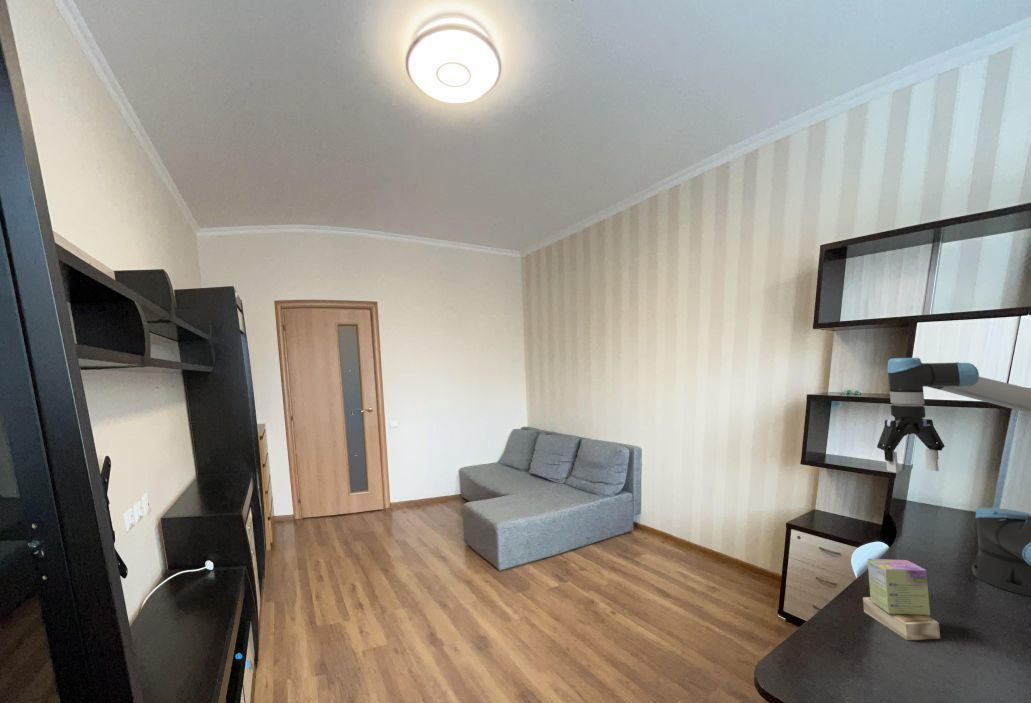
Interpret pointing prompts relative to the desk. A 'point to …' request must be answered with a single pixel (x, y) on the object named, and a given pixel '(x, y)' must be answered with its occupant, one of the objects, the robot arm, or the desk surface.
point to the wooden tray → (904, 622)
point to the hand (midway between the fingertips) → (912, 470)
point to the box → (898, 586)
